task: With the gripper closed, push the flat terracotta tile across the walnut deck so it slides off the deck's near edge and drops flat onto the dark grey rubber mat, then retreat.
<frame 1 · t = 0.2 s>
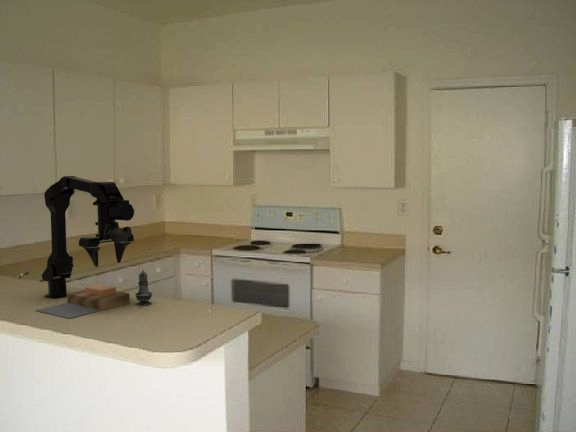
hand: (107, 264, 197), 14 cm above the table, fingers open, 9 cm apart
dark grey chess piece: (144, 304, 200), on the table
deck: (98, 303, 201), on the table
mat: (68, 310, 191), on the table
tile: (100, 292, 201), point 3 cm above the table, touching deck
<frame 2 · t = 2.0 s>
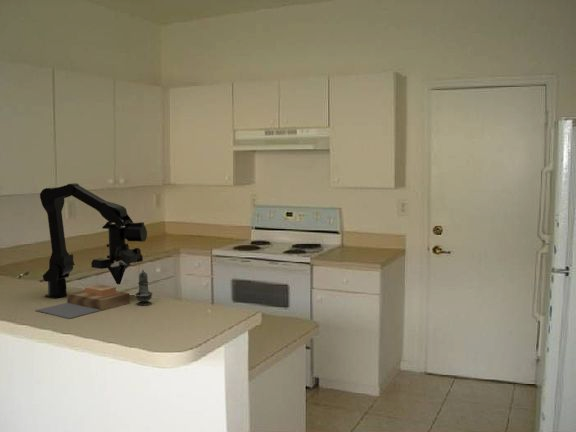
hand: (118, 284, 208), 5 cm above the table, fingers closed
nothing on the table moved.
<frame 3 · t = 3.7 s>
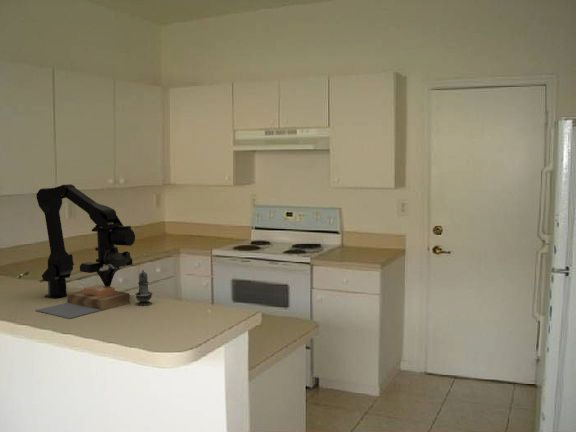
hand: (107, 288, 204), 5 cm above the table, fingers closed
tile: (99, 293, 201), point 4 cm above the table, touching deck, gripper
everything else where it was.
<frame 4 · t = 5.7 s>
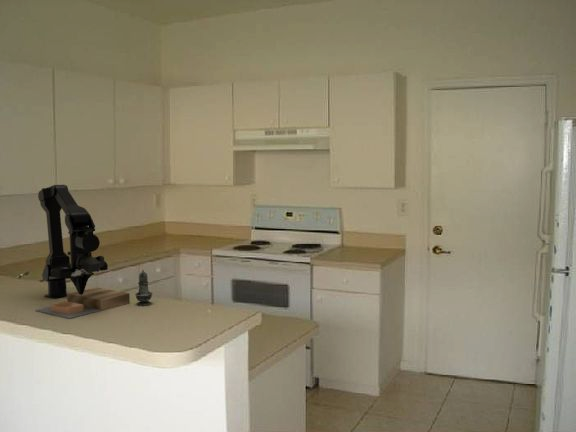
hand: (81, 294, 195), 5 cm above the table, fingers closed
tile: (66, 304, 190), point 2 cm above the table, tilted 180°, touching mat
everything else where it was.
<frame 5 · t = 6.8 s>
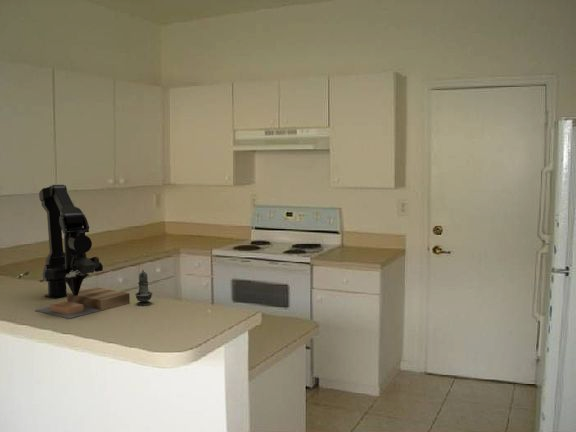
hand: (75, 295, 193), 4 cm above the table, fingers closed
nothing on the table moved.
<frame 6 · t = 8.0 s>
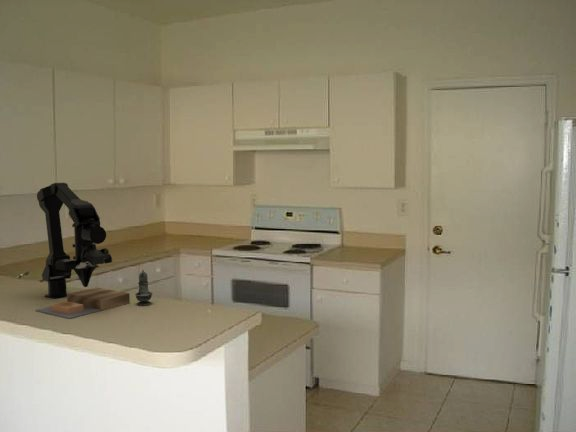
hand: (85, 286, 196), 7 cm above the table, fingers closed
nothing on the table moved.
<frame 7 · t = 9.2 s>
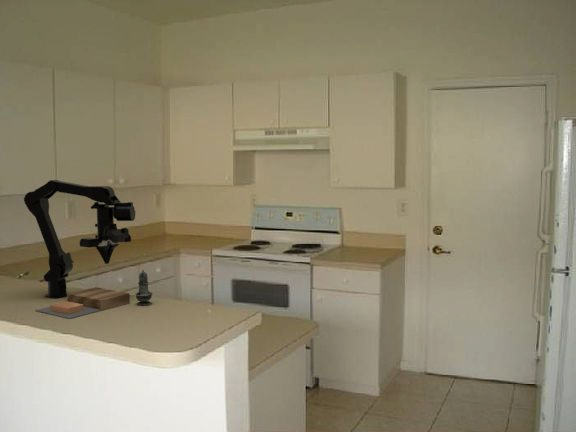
hand: (106, 263, 210), 12 cm above the table, fingers closed
nothing on the table moved.
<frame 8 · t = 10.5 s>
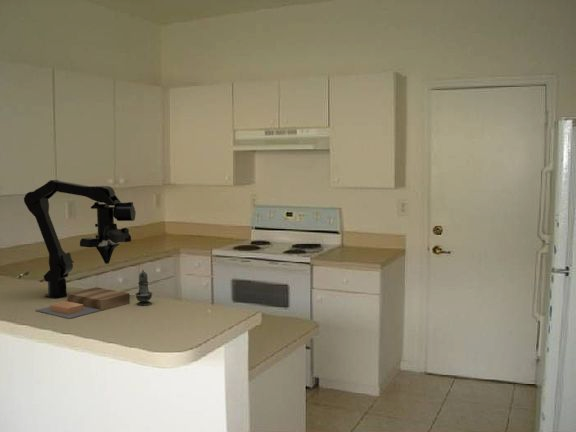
hand: (107, 263, 211), 12 cm above the table, fingers closed
nothing on the table moved.
at the end: tile point 2.3 cm above the table; tile inside the target area on the mat (0.9 cm from its centre), point 2.3 cm above the mat's base; tile touching mat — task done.
